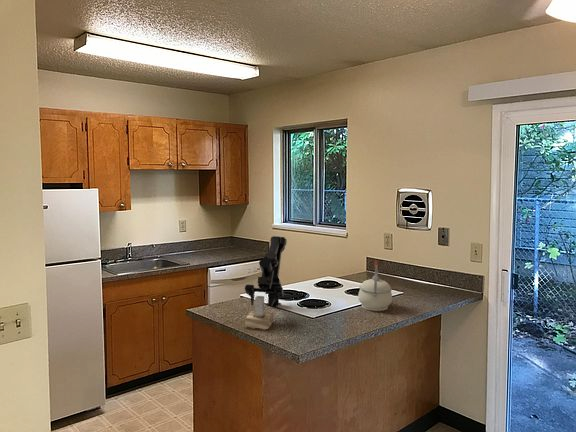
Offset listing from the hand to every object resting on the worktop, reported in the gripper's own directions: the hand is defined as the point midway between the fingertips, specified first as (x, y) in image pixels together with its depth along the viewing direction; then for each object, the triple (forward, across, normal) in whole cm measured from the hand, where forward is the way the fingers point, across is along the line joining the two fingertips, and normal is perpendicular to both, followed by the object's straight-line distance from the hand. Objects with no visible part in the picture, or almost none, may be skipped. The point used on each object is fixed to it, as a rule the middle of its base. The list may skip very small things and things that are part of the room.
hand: (261, 306), depth 227 cm
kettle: (-23, +55, +36) cm, 69 cm away
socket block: (+8, 0, +3) cm, 9 cm away
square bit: (+8, 0, +3) cm, 8 cm away
